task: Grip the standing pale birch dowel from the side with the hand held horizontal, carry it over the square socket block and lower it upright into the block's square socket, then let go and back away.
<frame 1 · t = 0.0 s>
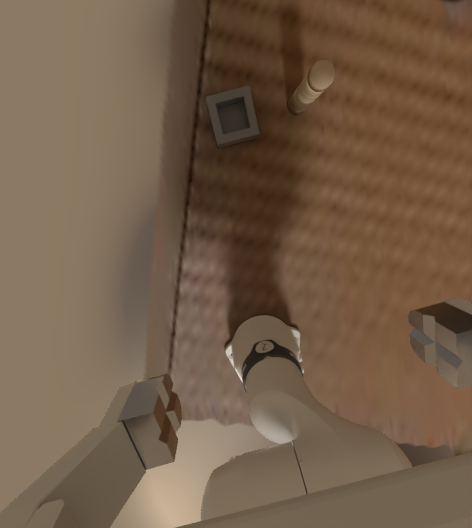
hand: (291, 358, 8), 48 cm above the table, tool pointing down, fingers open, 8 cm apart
square socket block: (232, 121, 49), on the table
dowel: (296, 104, 49), on the table
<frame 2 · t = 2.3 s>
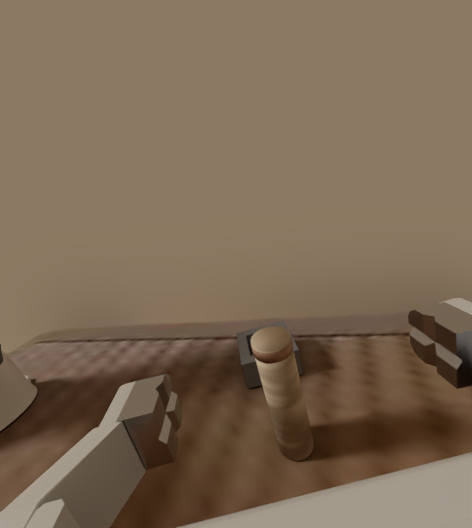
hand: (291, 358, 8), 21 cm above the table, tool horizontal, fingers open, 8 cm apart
square socket block: (270, 362, 39), on the table
dowel: (295, 442, 27), on the table
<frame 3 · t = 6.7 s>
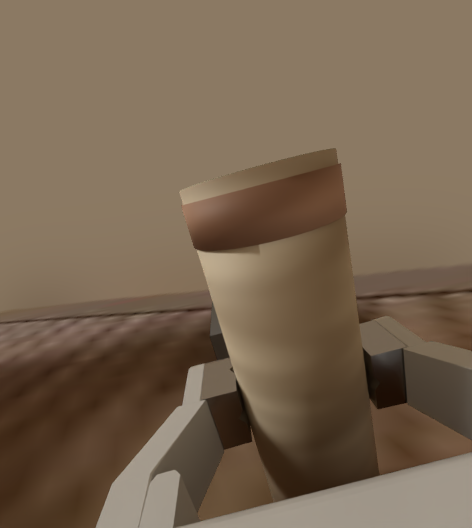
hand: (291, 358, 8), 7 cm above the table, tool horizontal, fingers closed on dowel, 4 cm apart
square socket block: (268, 339, 22), on the table
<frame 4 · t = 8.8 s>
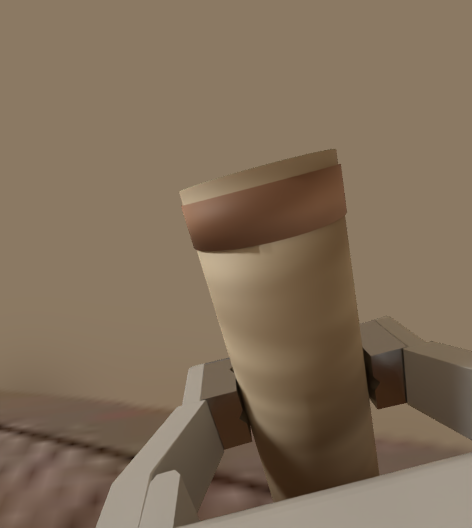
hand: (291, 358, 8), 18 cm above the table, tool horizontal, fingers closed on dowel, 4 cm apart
when the fingers open (9 cm above the table, at t = 11.3 s): dowel stays where it is, resting on square socket block.
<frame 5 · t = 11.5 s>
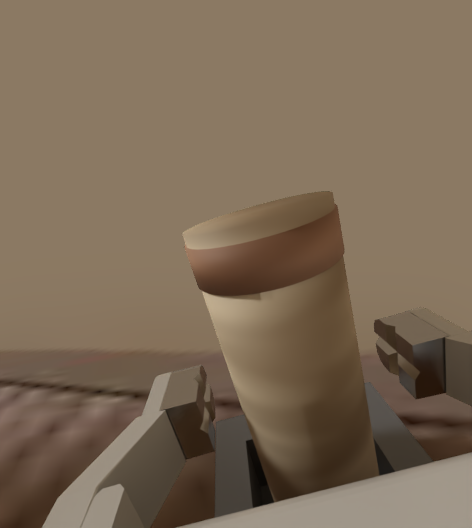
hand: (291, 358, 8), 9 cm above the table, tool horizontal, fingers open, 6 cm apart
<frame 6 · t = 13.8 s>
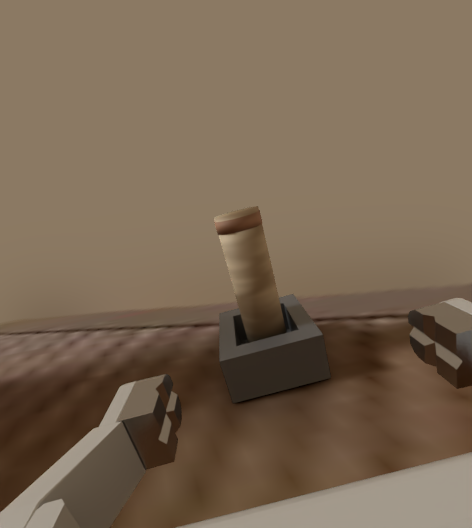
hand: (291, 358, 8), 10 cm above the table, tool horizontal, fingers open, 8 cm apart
square socket block: (271, 359, 24), on the table
dowel: (270, 350, 24), point 1 cm above the table, touching square socket block
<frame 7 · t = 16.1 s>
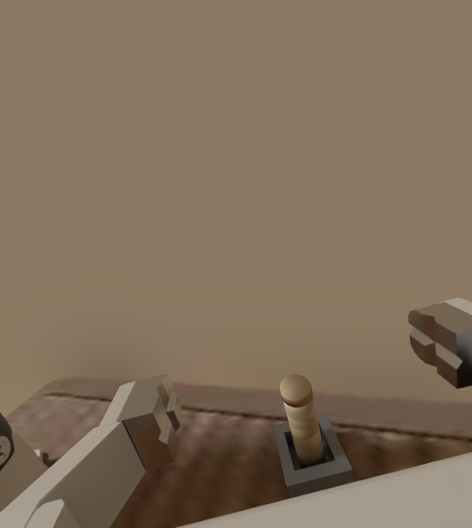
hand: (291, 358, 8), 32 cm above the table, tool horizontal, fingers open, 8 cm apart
square socket block: (312, 467, 35), on the table
dowel: (312, 461, 34), point 1 cm above the table, touching square socket block
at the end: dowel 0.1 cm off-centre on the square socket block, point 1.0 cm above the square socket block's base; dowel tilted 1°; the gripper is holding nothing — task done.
